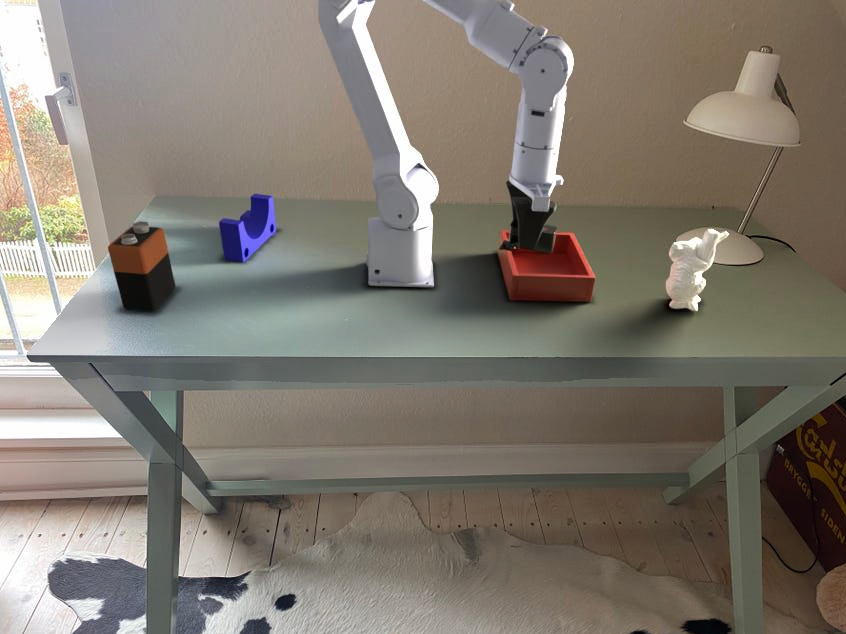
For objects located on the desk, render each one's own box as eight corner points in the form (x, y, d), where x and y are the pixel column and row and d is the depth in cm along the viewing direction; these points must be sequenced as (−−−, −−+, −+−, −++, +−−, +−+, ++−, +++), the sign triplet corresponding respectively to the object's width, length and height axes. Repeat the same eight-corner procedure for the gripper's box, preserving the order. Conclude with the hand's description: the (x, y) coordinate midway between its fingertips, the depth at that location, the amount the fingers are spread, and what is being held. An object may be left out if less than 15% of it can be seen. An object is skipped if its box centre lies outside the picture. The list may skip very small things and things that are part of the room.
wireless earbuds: (505, 239, 95) (507, 218, 93) (554, 248, 93) (557, 226, 92) (498, 252, 91) (500, 230, 89) (549, 261, 90) (552, 239, 88)
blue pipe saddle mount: (249, 227, 109) (245, 192, 106) (276, 231, 109) (272, 196, 105) (214, 258, 99) (208, 220, 96) (243, 262, 99) (238, 224, 96)
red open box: (509, 300, 96) (512, 275, 94) (497, 252, 109) (500, 230, 106) (590, 302, 97) (595, 277, 95) (569, 255, 110) (573, 232, 108)
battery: (177, 288, 91) (163, 220, 85) (156, 313, 86) (139, 242, 80) (145, 285, 91) (129, 217, 85) (122, 310, 85) (103, 239, 80)
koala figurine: (699, 294, 102) (721, 221, 96) (717, 316, 97) (742, 241, 90) (647, 293, 101) (665, 220, 94) (662, 316, 96) (683, 240, 89)
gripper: (580, 162, 79) (562, 265, 87) (556, 128, 91) (543, 220, 98) (522, 159, 78) (509, 263, 86) (506, 125, 90) (496, 219, 98)
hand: (524, 240), depth 92 cm, fingers closed on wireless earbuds, 4 cm apart
